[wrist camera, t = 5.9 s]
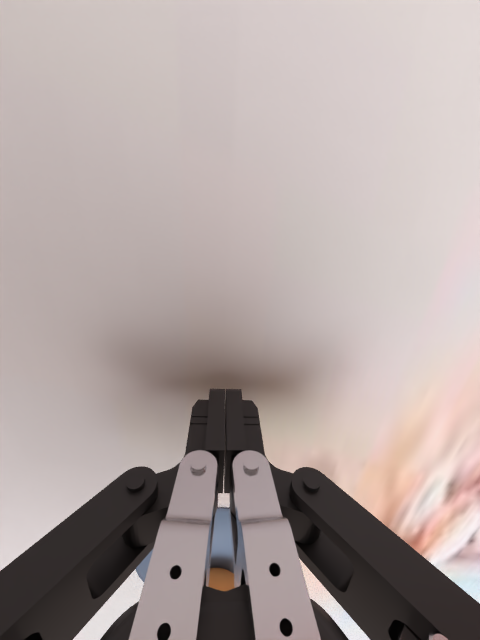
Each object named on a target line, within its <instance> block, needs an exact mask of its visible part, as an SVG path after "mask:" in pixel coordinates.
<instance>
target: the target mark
mask: <svg viewBox="0 0 480 640" xmlns="http://www.w3.org/2000/svg"><path fill="white" fill-rule="evenodd" d="M229 509H230V508H217V511H216V514H215V525H214V534H213V544H212V554H211V564H210V568H223V569H226V570H229V571H230V572H232V573H233V574H234V564H233V553H232V541H231V530H230V518H229ZM152 552H153V549H152V551H151V552H150V553H149V554H148V555H147V556H146V557H145V558H144V560H143V561H142V562H141V563H140V564H139V565H138V566H137V567H136V571H137V573H138V575H139V577H140V578H141V579H142V581H143V582H144V581H145V578H146V574H147V570H148V567H149V563H150V559H151V556H152Z"/></svg>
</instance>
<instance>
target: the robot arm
mask: <svg viewBox="0 0 480 640" xmlns="http://www.w3.org/2000/svg"><path fill="white" fill-rule="evenodd" d="M223 476H224V493H230V509H229V518H230V530H231V541H232V553H233V564H234V589H231V590H228V591H220V590H217V589H214V588H211V587H209V574H210V564H211V554H212V544H213V534H214V525H215V514H216V511H217V506H218V493H223ZM152 549H153V552H152V556H151V559H150V563H149V567H148V570H147V574H146V578H145V581H144V585H143V589H142V593H141V596H140V600H139V602H137V603H136V604H134V605H133V606H131V607H130V608H129V609H128V610H127V611H125V612H124V613H123V614H122V615H121V616H120V617H119V618H118V619H117V620H116V621H115V622H114V623H113V624H112V625H111V627H110V628H109V629H108V630H107V632H106V633H105V634H104V635H103V637H102V638H101V639H100V640H349V639H348V638H347V637H346V636H345V634H344V633H343V632H342V630H341V629H340V628H339V627H338V625H337V624H336V623H335V621H334V620H333V619H332V618H331V617H330V615H329V614H328V613H327V612H326V611H325V610H324V609H323V608H322V607H321V606H319V605H318V604H317V603H316V602H315V601H313V600H312V599H310V597H309V593H308V590H307V586H306V582H305V578H304V575H303V571H302V567H301V564H300V560H299V558H300V559H301V561H302V562H303V563H304V564H305V565H306V566H307V567H308V569H309V570H310V571H311V572H312V573H313V574H314V575H315V577H316V578H317V579H318V580H319V581H320V582H321V583H322V585H323V586H324V587H325V588H326V589H327V590H328V591H329V593H330V594H331V595H332V596H333V597H334V598H335V599H336V601H337V602H338V603H339V604H340V605H341V606H342V607H343V609H344V610H345V611H346V612H347V613H348V614H349V615H350V617H351V618H352V619H353V620H354V621H355V622H356V623H357V625H358V626H359V627H360V628H361V629H362V630H363V631H364V633H365V634H366V635H367V636H368V637H369V638H370V640H480V604H479V603H478V602H477V601H476V600H474V599H473V598H472V597H471V596H470V595H468V594H467V593H466V592H465V591H464V590H462V589H461V588H460V587H459V586H458V585H456V584H455V583H454V582H453V581H452V580H450V579H449V578H448V577H447V576H445V575H444V574H443V573H442V572H441V571H439V570H438V569H437V568H436V567H435V566H433V565H432V564H431V563H430V562H429V561H427V560H426V559H425V558H424V557H423V556H421V555H420V554H419V553H418V552H417V551H415V550H414V549H413V548H412V547H411V546H409V545H408V544H407V543H406V542H404V541H403V540H402V539H401V538H400V537H398V536H397V535H396V534H395V533H394V532H392V531H391V530H390V529H389V528H388V527H386V526H385V525H384V524H383V523H382V522H380V521H379V520H378V519H377V518H376V517H374V516H373V515H372V514H371V513H370V512H368V511H367V510H366V509H365V508H363V507H362V506H361V505H360V504H359V503H357V502H356V501H355V500H354V499H353V498H351V497H350V496H349V495H348V494H347V493H345V492H344V491H343V490H342V489H341V488H339V487H338V486H337V485H336V484H335V483H333V482H332V481H331V480H330V479H329V478H327V477H326V476H325V475H324V474H322V473H321V472H320V471H318V470H316V469H314V468H310V467H303V468H299V469H297V470H296V471H295V472H294V473H289V472H286V471H283V470H280V469H278V468H276V467H274V466H273V465H272V464H271V463H270V462H269V461H268V460H267V458H266V456H265V453H264V447H263V441H262V434H261V428H260V421H259V415H258V408H257V407H256V405H255V404H254V403H253V401H252V400H242V393H241V389H226V400H225V389H210V393H209V400H198V401H197V402H196V403H195V405H194V406H193V407H192V414H191V420H190V427H189V433H188V440H187V446H186V452H185V456H184V458H183V459H182V460H181V462H180V463H179V464H178V465H177V466H175V467H174V468H172V469H170V470H167V471H164V472H160V473H157V474H155V472H154V471H153V470H152V469H150V468H148V467H135V468H132V469H130V470H128V471H126V472H125V473H123V474H122V475H121V476H119V477H118V478H117V479H116V480H114V481H113V482H112V483H111V484H109V485H108V486H107V487H106V488H104V489H103V490H102V491H101V492H99V493H98V494H97V495H95V496H94V497H93V498H92V499H90V500H89V501H88V502H87V503H85V504H84V505H83V506H82V507H80V508H79V509H78V510H77V511H75V512H74V513H73V514H72V515H70V516H69V517H68V518H67V519H65V520H64V521H63V522H61V523H60V524H59V525H58V526H56V527H55V528H54V529H53V530H51V531H50V532H49V533H48V534H46V535H45V536H44V537H43V538H41V539H40V540H39V541H38V542H36V543H35V544H34V545H33V546H31V547H30V548H29V549H27V550H26V551H25V552H24V553H22V554H21V555H20V556H19V557H17V558H16V559H15V560H14V561H12V562H11V563H10V564H9V565H7V566H6V567H5V568H4V569H2V570H1V571H0V640H73V638H74V637H75V636H76V635H77V634H78V633H79V632H80V631H81V629H82V628H83V627H84V626H85V625H86V624H87V623H88V622H89V620H90V619H91V618H92V617H93V616H94V615H95V614H96V613H97V611H98V610H99V609H100V608H101V607H102V606H103V605H104V604H105V602H106V601H107V600H108V599H109V598H110V597H111V596H112V595H113V593H114V592H115V591H116V590H117V589H118V588H119V587H120V585H121V584H122V583H123V582H124V581H125V580H126V579H127V578H128V576H129V575H130V574H131V573H132V572H133V571H134V570H135V569H136V567H137V566H138V565H139V564H140V563H141V562H142V561H143V560H144V558H145V557H146V556H147V555H148V554H149V553H150V552H151V551H152Z"/></svg>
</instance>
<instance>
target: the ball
mask: <svg viewBox="0 0 480 640" xmlns="http://www.w3.org/2000/svg"><path fill="white" fill-rule="evenodd" d="M209 587H211V588H214V589H217V590H220V591H228V590H231V589H234V574H233V573H232V572H230V571H229V570H226V569H223V568H210V574H209Z"/></svg>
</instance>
